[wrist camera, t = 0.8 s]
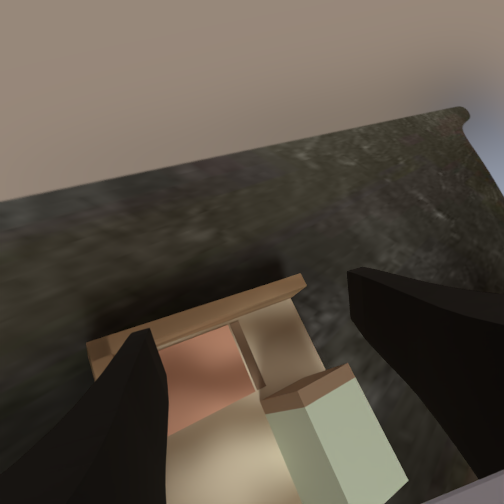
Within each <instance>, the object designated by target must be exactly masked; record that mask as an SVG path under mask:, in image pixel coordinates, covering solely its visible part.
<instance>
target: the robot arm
mask: <svg viewBox="0 0 504 504" xmlns="http://www.w3.org/2000/svg"><path fill="white" fill-rule="evenodd" d="M347 279H348V291H349V304H350V316H351V319H352V321H353V322H354V324H355V325H356V327H357V328H358V330H359V331H360V332H361V334H362V335H363V337H364V338H365V339H366V340H367V341H368V343H369V344H370V345H371V346H372V347H373V348H374V349H375V350H376V351H377V352H378V353H379V354H380V355H381V357H382V358H383V359H384V360H385V361H386V362H387V363H388V364H389V365H390V366H391V367H392V368H393V369H394V370H395V371H396V372H397V373H398V374H399V375H400V376H401V378H402V379H403V380H404V381H405V382H406V383H407V384H408V385H409V386H410V387H411V388H412V390H413V391H414V392H415V393H416V394H417V395H418V397H419V398H420V399H421V400H422V402H423V403H424V404H425V406H426V407H427V408H428V409H429V411H430V412H431V413H432V415H433V416H434V417H435V418H436V420H437V421H438V422H439V424H440V425H441V427H442V428H443V429H444V431H445V432H446V433H447V435H448V436H449V437H450V439H451V440H452V442H453V443H454V444H455V446H456V447H457V448H458V450H459V451H460V453H461V454H462V456H463V457H464V459H465V460H466V461H467V463H468V464H469V466H470V467H471V469H472V470H473V472H474V473H475V474H476V476H477V477H478V479H479V480H477V481H475V482H473V483H470V484H468V485H465V486H463V487H461V488H458V489H456V490H453V491H451V492H448V493H446V494H444V495H441V496H439V497H436V498H434V499H432V500H429V501H427V502H424V503H422V504H504V294H497V293H487V292H480V291H472V290H465V289H459V288H453V287H448V286H443V285H438V284H433V283H428V282H424V281H420V280H416V279H411V278H408V277H404V276H400V275H396V274H392V273H388V272H384V271H380V270H376V269H371V268H366V267H360V268H357V269H353V270H350V271H347ZM168 414H169V396H168V383H167V374H166V372H165V369H164V366H163V363H162V360H161V358H160V355H159V352H158V349H157V347H156V344H155V341H154V338H153V335H152V333H151V330H150V328H146V329H143V330H139V331H136V332H132V333H131V334H130V335H129V336H128V338H127V339H126V340H125V342H124V343H123V345H122V346H121V348H120V349H119V350H118V352H117V353H116V355H115V356H114V357H113V359H112V360H111V361H110V363H109V364H108V366H107V367H106V368H105V370H104V371H103V372H102V374H101V375H100V376H99V377H98V379H97V380H96V381H95V382H94V383H93V385H92V386H91V387H90V388H89V390H88V391H87V392H86V393H85V395H84V396H83V397H82V398H81V399H80V400H79V402H78V403H77V404H76V405H75V406H74V407H73V408H72V409H71V410H70V411H69V412H68V413H67V415H66V416H65V417H64V418H63V419H62V420H61V421H60V422H59V423H58V424H57V425H56V426H55V427H54V428H53V429H52V430H51V431H50V432H49V433H48V434H46V435H45V436H44V437H43V438H42V439H41V440H40V441H39V442H38V443H37V444H36V445H34V446H33V447H32V448H31V449H30V450H29V451H28V452H27V453H26V454H25V455H23V456H22V457H21V458H20V459H19V460H18V461H17V462H15V463H14V464H13V465H12V466H11V467H9V468H8V469H7V470H6V471H5V472H3V473H2V474H1V475H0V504H166V454H167V434H168Z"/></svg>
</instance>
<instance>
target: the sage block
mask: <svg viewBox="0 0 504 504" xmlns="http://www.w3.org/2000/svg"><path fill="white" fill-rule="evenodd" d="M260 403H261V405H262V408H263V410H264V413H265V415H266V418H267V420H268V422H269V425H270V427H271V430H272V432H273V434H274V437H275V439H276V442H277V444H278V446H279V449H280V451H281V454H282V456H283V458H284V461H285V463H286V466H287V468H288V471H289V473H290V475H291V478H292V480H293V483H294V485H295V487H296V490H297V492H298V495H299V497H300V499H301V502H302V504H384V503H385V502H386V501H387V500H388V499H389V498H390V497H392V496H393V495H394V494H395V493H396V492H397V491H398V490H399V489H400V488H401V487H402V486H403V485H404V484H405V483H406V482H407V481H408V479H407V477H406V475H405V473H404V471H403V469H402V467H401V465H400V463H399V461H398V459H397V457H396V455H395V453H394V452H393V450H392V448H391V446H390V444H389V442H388V440H387V438H386V436H385V434H384V432H383V430H382V428H381V426H380V424H379V422H378V420H377V419H376V417H375V415H374V413H373V411H372V409H371V407H370V405H369V403H368V401H367V399H366V397H365V395H364V393H363V391H362V389H361V388H360V386H359V384H358V382H357V380H356V378H355V376H354V374H353V372H352V370H351V368H350V366H349V364H348V363H346V364H343V365H340V366H337V367H334V368H331V369H328V370H325V371H322V372H319V373H316V374H313V375H310V376H307V377H304V378H302V379H300V380H298V381H296V382H294V383H293V384H291V385H289V386H287V387H285V388H283V389H281V390H280V391H278V392H276V393H274V394H272V395H270V396H268V397H266V398H265V399H263V400H261V401H260Z"/></svg>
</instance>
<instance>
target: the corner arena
mask: <svg viewBox="0 0 504 504" xmlns="http://www.w3.org/2000/svg"><path fill="white" fill-rule="evenodd" d="M306 286H307V285H306V283H305V281H304V279H303V278H302V276H301V274H297V275H294V276H291V277H288V278H285V279H282V280H278V281H275V282H272V283H269V284H266V285H263V286H260V287H257V288H254V289H251V290H247V291H244V292H241V293H238V294H235V295H232V296H229V297H226V298H223V299H220V300H217V301H213V302H210V303H207V304H204V305H201V306H198V307H195V308H192V309H189V310H186V311H183V312H179V313H176V314H173V315H170V316H167V317H164V318H161V319H158V320H155V321H152V322H148V323H145V324H142V325H139V326H136V327H133V328H130V329H127V330H124V331H121V332H118V333H114V334H111V335H108V336H105V337H102V338H99V339H96V340H93V341H90V342H87V343H86V346H87V354H88V358H89V362H90V366H91V369H92V373H93V377H94V381H96V380H97V379H98V377H99V376H100V375H101V374H102V372H103V371H104V370H105V368H106V367H107V366H108V364H109V363H110V361H111V360H112V359H113V357H114V356H115V355H116V353H117V352H118V350H119V349H120V348H121V346H122V345H123V343H124V342H125V340H126V339H127V338H128V336H129V335H130V334H131V333H132V332H136V331H139V330H143V329H146V328H150V330H151V333H152V335H153V338H154V341H155V344H156V347H157V349H158V352H159V355H160V358H161V360H162V363H163V366H164V369H165V372H166V374H167V383H168V396H169V414H168V434H167V454H166V504H302V502H301V499H300V497H299V495H298V492H297V490H296V487H295V485H294V483H293V480H292V478H291V475H290V473H289V471H288V468H287V466H286V463H285V461H284V458H283V456H282V454H281V451H280V449H279V446H278V444H277V442H276V439H275V437H274V434H273V432H272V430H271V427H270V425H269V422H268V420H267V418H266V415H265V413H264V410H263V408H262V405H261V403H260V401H261V400H263V399H265V398H266V397H268V396H270V395H272V394H274V393H276V392H278V391H280V390H281V389H283V388H285V387H287V386H289V385H291V384H293V383H294V382H296V381H298V380H300V379H302V378H304V377H307V376H310V375H313V374H316V373H319V372H322V371H325V368H324V365H323V363H322V361H321V359H320V357H319V355H318V353H317V351H316V349H315V347H314V345H313V343H312V341H311V339H310V337H309V335H308V333H307V331H306V329H305V327H304V325H303V323H302V321H301V319H300V317H299V315H298V313H297V310H296V308H295V306H294V304H293V302H292V300H291V297H293V296H294V295H295V294H297V293H298V292H299V291H301V290H302V289H303V288H305V287H306Z"/></svg>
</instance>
